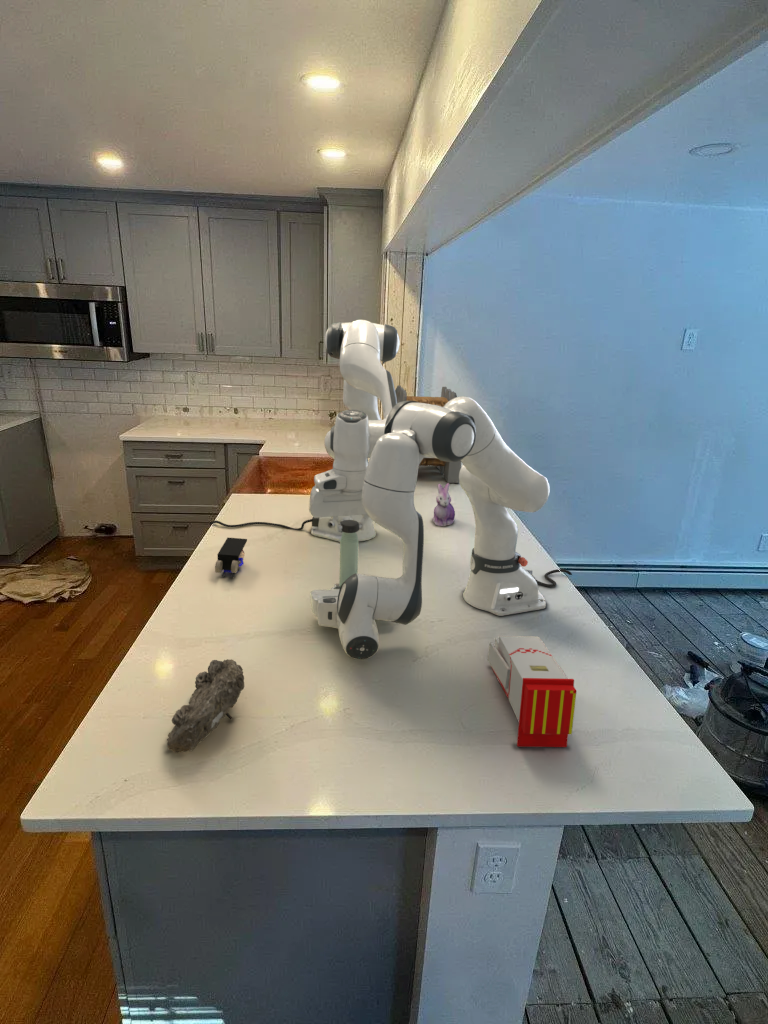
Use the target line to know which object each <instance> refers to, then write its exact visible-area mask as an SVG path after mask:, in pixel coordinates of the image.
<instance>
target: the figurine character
mask: <svg viewBox="0 0 768 1024" xmlns="http://www.w3.org/2000/svg"><path fill="white" fill-rule="evenodd" d="M247 542H248V538H240V537H226V539H225V541H224V543H223V544H222V546H221V547H220V549H219V551H218V552H217V560H216V562H215V564H214V572H215V573H221V577H222V578H224V577H225V576H226V574H227V573H230V574H231V573H232V574H231V578H234V577H235V575H236V573H237V572H239V571H240V567H242V566H243V565H244V564H245V562H244V558H245V551H244V547H245V546H246V544H247Z"/></svg>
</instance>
